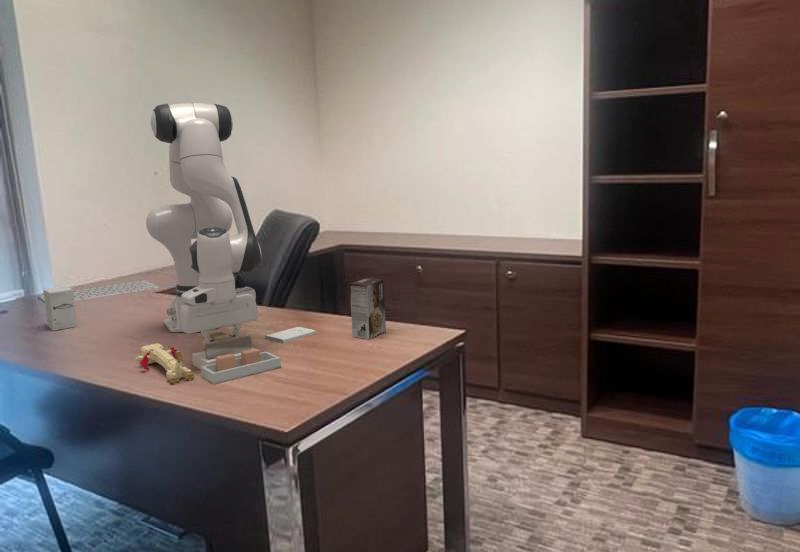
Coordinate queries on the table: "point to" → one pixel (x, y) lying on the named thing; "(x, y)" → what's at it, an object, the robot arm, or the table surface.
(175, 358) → the beige long curved piece
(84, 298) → the computer keyboard
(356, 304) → the coffee box
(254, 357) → the tile
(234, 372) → the tray
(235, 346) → the scraper
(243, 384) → the table surface
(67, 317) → the supplement box
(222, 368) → the tile
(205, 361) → the board
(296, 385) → the table surface
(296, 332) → the external hard drive
